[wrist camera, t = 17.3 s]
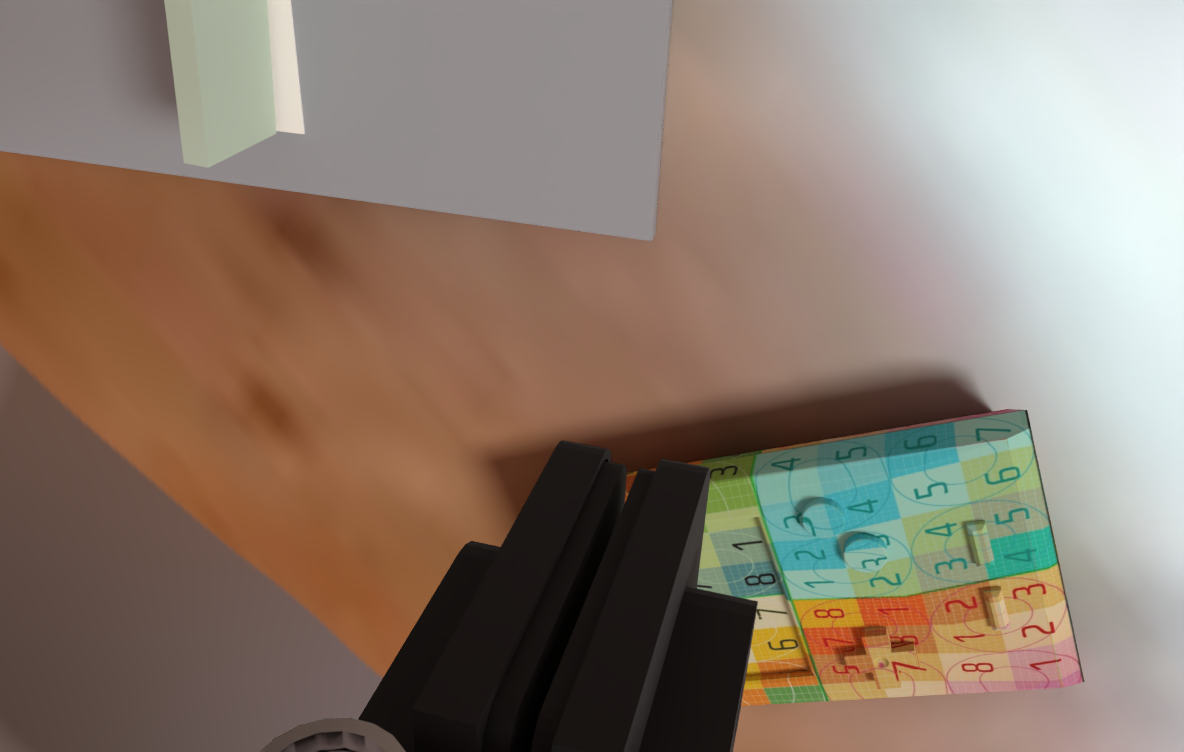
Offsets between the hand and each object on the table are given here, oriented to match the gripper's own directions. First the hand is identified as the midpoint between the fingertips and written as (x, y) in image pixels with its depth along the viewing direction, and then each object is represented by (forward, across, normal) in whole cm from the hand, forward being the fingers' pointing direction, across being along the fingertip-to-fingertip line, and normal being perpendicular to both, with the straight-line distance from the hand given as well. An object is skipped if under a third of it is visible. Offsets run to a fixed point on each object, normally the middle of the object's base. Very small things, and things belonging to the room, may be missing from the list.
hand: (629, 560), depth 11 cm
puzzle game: (+28, -2, +20) cm, 34 cm away
